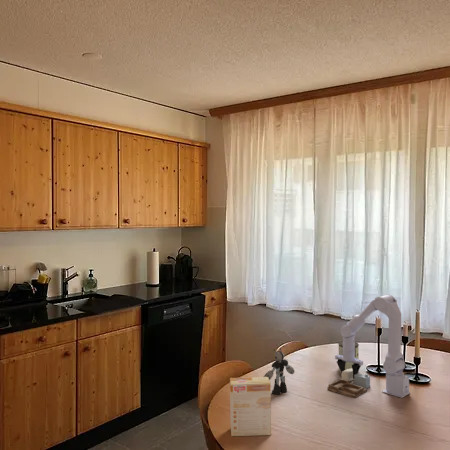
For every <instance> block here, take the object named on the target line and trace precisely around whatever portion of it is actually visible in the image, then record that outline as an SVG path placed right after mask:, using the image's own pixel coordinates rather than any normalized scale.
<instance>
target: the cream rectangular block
mask: <svg viewBox="0 0 450 450" xmlns="http://www.w3.org/2000/svg"><path fill="white" fill-rule="evenodd" d="M341 379H342V380H345V381H348V382H350V383H351V381H354V379H353V370H352V368H349V369H347V370H344V371H342V375H341Z"/></svg>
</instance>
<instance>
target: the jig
mask: <svg viewBox="0 0 450 450" xmlns="http://www.w3.org/2000/svg"><path fill="white" fill-rule="evenodd" d="M327 391H331V392H333V393H338V394H341V395H344V396H347V397H351V398H353V399H355V398H357V397H359V396H361V395H363V394H364V393H366V392H368V388H366V389H365V388H363V387H360V386H357V385H355V384H353V383H351V381H350V382H348V381H345V380H342V378H340V379H338V380H336V381H333V382H331V383H329V384H328V386H327Z"/></svg>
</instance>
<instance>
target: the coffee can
mask: <svg viewBox="0 0 450 450" xmlns="http://www.w3.org/2000/svg"><path fill="white" fill-rule="evenodd" d="M337 345H338V355H343V340H341V341H338V343H337ZM355 358H356V359H359V343H358V342H356V341H355ZM359 360H360V359H359ZM353 364H354V363H350V362H346V364H345V370H347V369H349V368H352V365H353ZM338 370H339V371H340V368H339V367H338Z"/></svg>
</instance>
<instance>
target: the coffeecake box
mask: <svg viewBox="0 0 450 450" xmlns="http://www.w3.org/2000/svg"><path fill="white" fill-rule="evenodd" d="M270 381H271V380H269V378H268V377H264V376H256V377H255V376H254V377H230V378H229V402H230V403H229V407H230V409H229V410H230V413H229V414H230V435H231V436H230V437H249V436H250V437H251V436H253V437H254V436H255V437H256V436H272V410H271V409H272V406H271V405H272V404H271V403H272V401H271V400H272V399H271V394H272V390H271V382H270Z"/></svg>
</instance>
